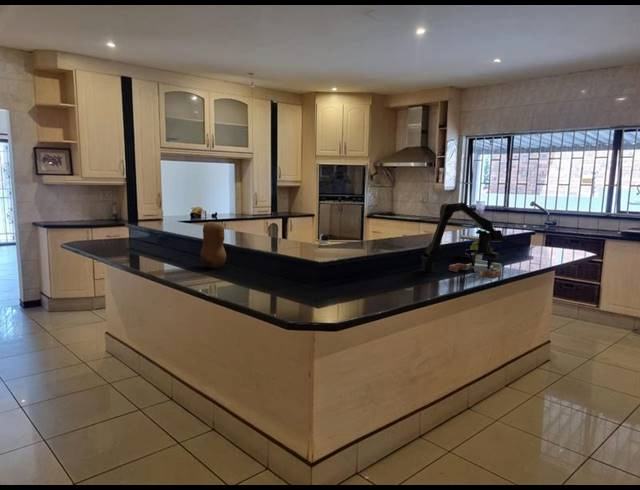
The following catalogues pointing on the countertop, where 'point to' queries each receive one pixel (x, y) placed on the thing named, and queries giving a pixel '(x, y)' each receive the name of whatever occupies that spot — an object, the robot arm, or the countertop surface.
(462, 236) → the tea box
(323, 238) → the container
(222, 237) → the butternut squash
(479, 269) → the block
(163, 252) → the countertop surface
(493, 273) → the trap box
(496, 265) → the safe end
